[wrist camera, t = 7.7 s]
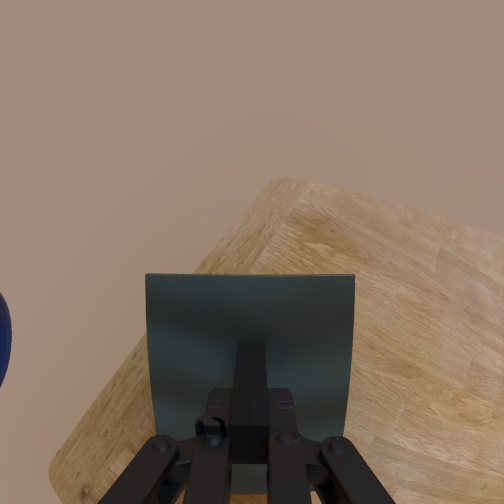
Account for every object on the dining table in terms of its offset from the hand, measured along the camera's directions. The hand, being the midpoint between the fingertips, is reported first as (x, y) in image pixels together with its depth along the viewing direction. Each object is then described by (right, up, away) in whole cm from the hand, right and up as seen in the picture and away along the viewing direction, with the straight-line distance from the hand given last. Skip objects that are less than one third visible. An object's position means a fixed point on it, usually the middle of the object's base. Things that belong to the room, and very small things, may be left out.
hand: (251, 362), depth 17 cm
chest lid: (0, -3, +1) cm, 4 cm away
